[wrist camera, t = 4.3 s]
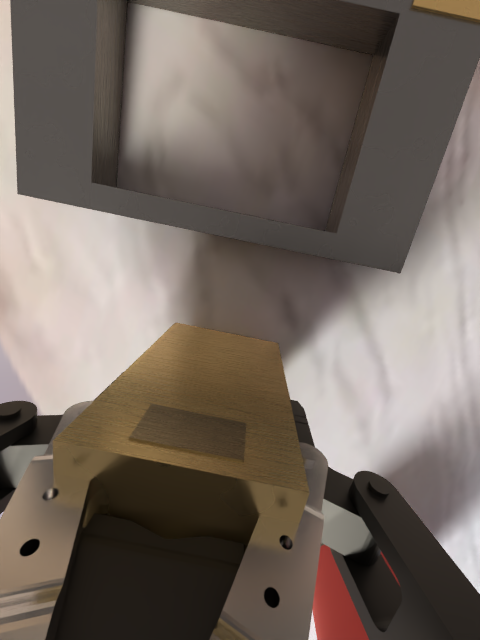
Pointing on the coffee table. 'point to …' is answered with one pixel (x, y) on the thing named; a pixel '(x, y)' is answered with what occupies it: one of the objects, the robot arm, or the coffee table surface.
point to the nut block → (191, 439)
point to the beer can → (335, 603)
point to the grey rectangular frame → (271, 16)
